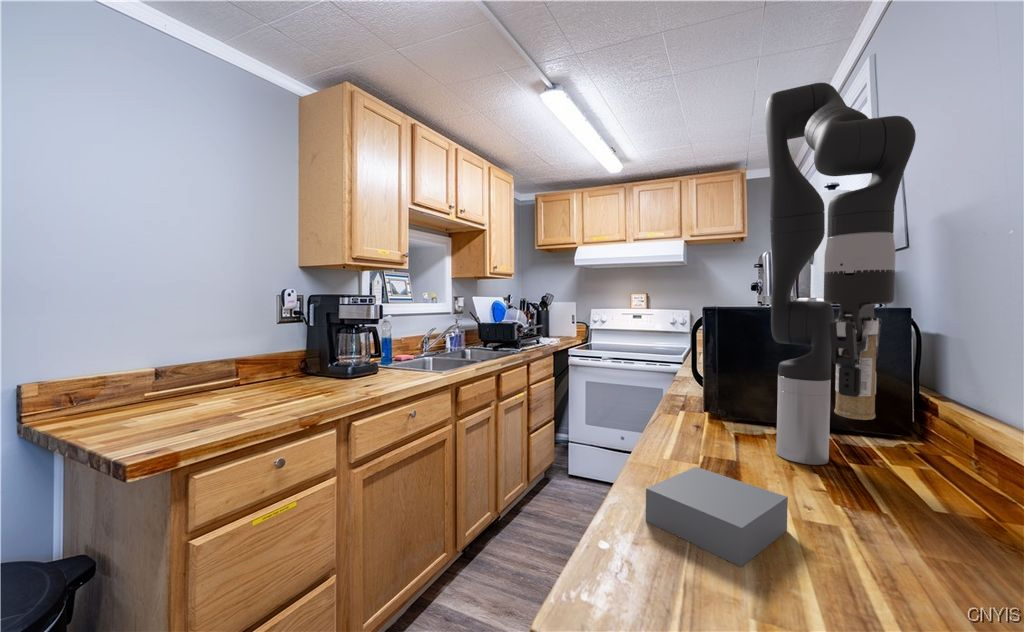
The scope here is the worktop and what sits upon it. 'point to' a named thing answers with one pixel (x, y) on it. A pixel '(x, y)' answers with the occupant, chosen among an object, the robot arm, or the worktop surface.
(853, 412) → the spice jar
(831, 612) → the worktop surface
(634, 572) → the worktop surface
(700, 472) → the grey block
